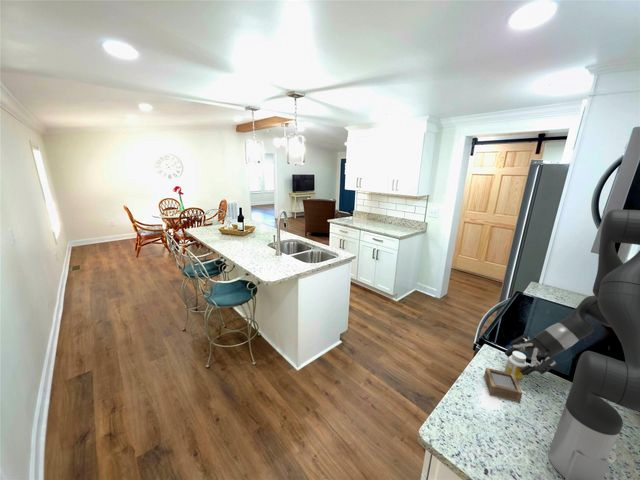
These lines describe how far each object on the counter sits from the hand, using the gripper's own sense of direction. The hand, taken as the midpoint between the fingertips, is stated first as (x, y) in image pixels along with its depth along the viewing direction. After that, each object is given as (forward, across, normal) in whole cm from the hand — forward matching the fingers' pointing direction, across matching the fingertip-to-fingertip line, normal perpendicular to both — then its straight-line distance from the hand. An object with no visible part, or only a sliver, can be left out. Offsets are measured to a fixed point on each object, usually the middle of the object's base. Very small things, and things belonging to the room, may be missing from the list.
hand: (513, 363), depth 94 cm
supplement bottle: (+3, 0, +5) cm, 6 cm away
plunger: (+7, +6, -3) cm, 10 cm away
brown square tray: (+9, +6, -1) cm, 11 cm away
